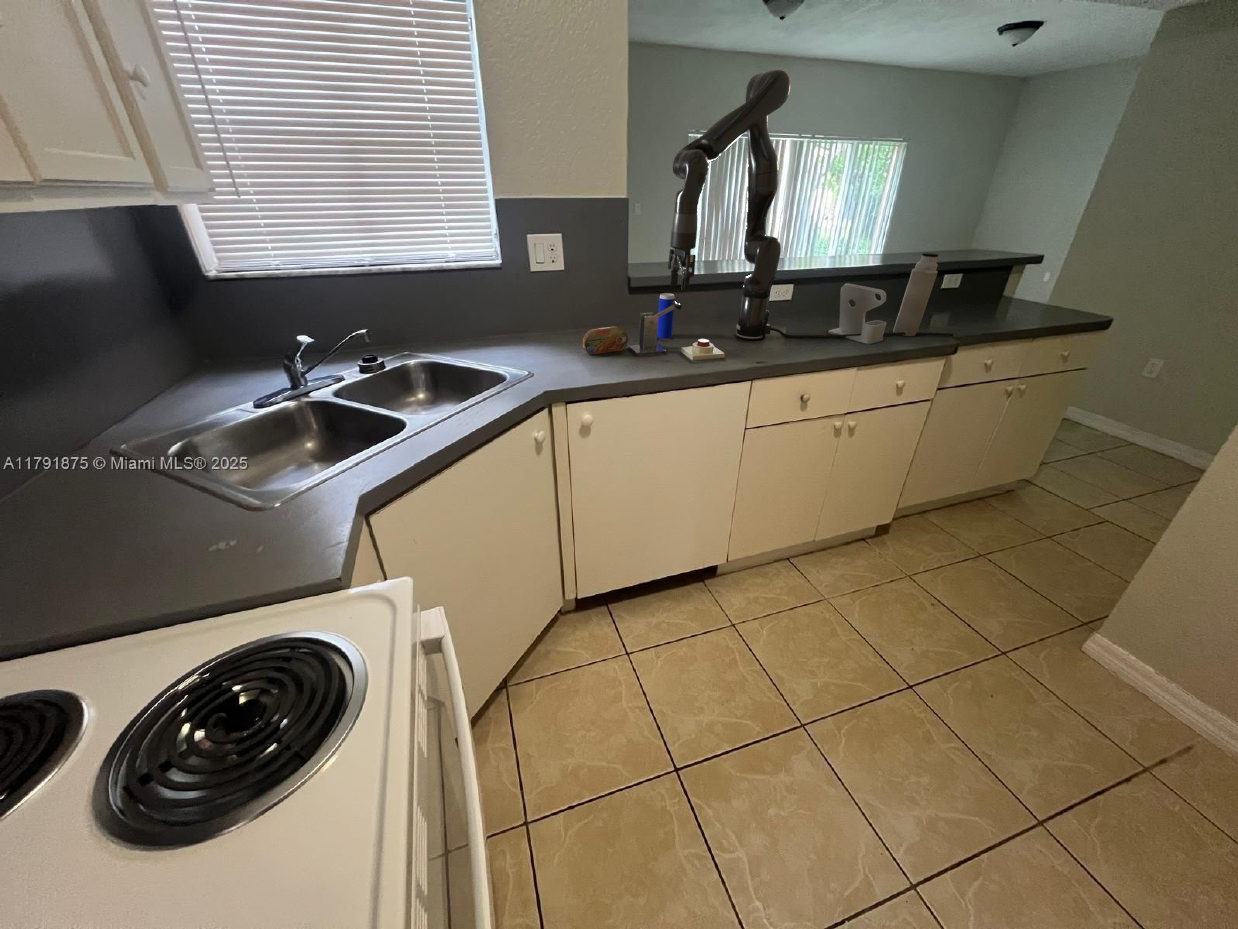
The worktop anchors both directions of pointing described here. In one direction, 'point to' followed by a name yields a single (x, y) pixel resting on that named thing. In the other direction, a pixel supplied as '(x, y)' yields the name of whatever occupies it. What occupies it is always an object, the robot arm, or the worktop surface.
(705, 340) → the button
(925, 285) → the thermos bottle
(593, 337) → the tin
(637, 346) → the press bracket
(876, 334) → the phone holder
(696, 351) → the button block
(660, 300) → the beverage can
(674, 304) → the press lever
